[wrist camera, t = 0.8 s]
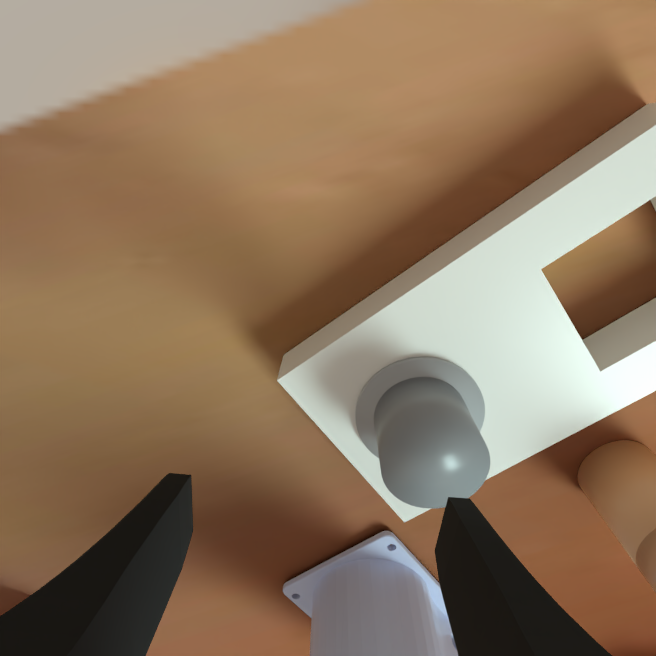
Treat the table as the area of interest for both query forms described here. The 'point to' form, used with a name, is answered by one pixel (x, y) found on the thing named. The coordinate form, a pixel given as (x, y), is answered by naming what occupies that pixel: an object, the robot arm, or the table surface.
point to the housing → (484, 340)
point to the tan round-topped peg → (625, 497)
